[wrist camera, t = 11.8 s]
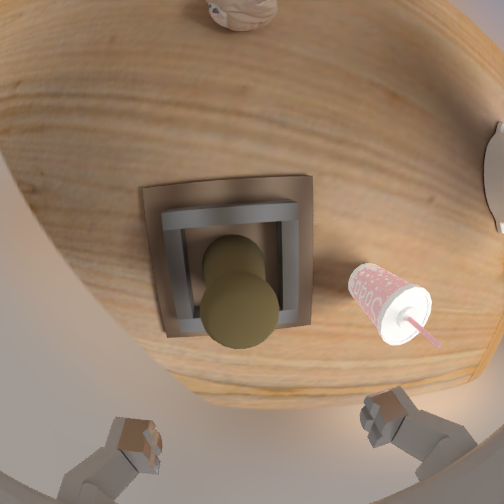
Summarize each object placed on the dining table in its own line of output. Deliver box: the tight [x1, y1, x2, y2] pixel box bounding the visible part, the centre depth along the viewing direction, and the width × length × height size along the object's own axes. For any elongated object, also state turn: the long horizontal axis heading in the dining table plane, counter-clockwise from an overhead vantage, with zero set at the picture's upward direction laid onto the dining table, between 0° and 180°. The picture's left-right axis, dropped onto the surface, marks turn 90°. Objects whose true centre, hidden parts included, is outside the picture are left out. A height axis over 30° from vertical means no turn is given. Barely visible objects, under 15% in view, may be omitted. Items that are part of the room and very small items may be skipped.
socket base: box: [142, 176, 313, 338], centre depth 26 cm, size 16×16×4 cm
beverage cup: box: [348, 263, 442, 349], centre depth 23 cm, size 6×6×14 cm
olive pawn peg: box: [200, 235, 279, 349], centre depth 21 cm, size 6×6×11 cm
